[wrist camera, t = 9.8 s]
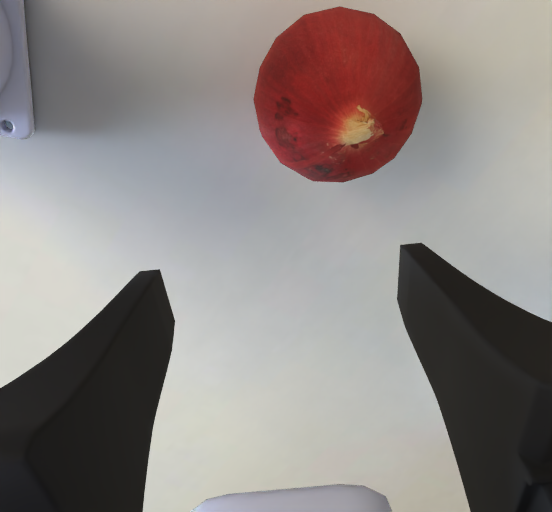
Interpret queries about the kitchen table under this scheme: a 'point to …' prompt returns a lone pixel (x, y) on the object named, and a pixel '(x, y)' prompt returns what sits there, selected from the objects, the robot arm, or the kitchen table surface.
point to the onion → (337, 95)
